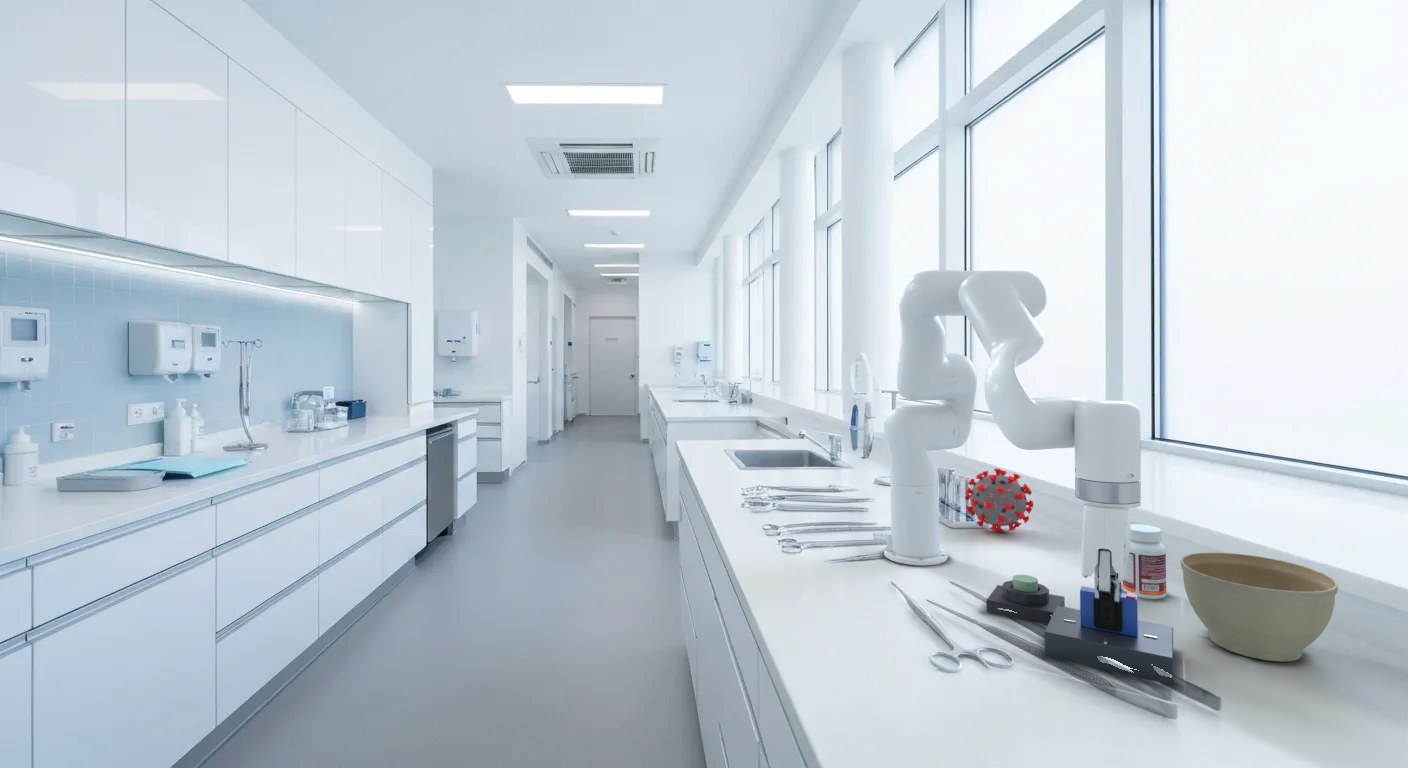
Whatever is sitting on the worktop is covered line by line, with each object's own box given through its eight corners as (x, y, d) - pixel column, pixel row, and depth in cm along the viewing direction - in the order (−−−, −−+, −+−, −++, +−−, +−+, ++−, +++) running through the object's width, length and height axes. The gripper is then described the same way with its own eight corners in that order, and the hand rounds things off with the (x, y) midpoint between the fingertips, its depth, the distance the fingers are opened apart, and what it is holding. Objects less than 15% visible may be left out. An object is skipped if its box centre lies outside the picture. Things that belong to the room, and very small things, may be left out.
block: (986, 613, 100) (986, 588, 100) (997, 597, 107) (997, 574, 107) (1057, 627, 94) (1057, 601, 94) (1064, 610, 101) (1064, 585, 101)
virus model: (974, 540, 141) (973, 474, 141) (958, 523, 156) (957, 463, 155) (1043, 541, 139) (1042, 474, 138) (1020, 524, 153) (1019, 463, 153)
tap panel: (1044, 656, 85) (1044, 630, 85) (1056, 628, 94) (1056, 604, 94) (1173, 686, 77) (1172, 656, 77) (1173, 652, 85) (1172, 625, 85)
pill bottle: (1172, 594, 106) (1172, 528, 105) (1157, 603, 102) (1156, 534, 102) (1131, 584, 111) (1131, 521, 111) (1115, 592, 107) (1114, 527, 107)
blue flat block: (1080, 626, 86) (1079, 588, 86) (1082, 621, 88) (1081, 584, 88) (1137, 637, 82) (1137, 597, 82) (1138, 631, 84) (1137, 593, 84)
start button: (1010, 590, 100) (1010, 579, 100) (1015, 583, 103) (1015, 573, 103) (1035, 594, 98) (1035, 583, 98) (1039, 587, 101) (1039, 577, 101)
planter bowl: (1216, 669, 80) (1216, 585, 80) (1161, 619, 96) (1160, 549, 96) (1372, 682, 76) (1372, 594, 76) (1288, 628, 92) (1287, 555, 91)
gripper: (1082, 479, 93) (1083, 601, 94) (1067, 499, 81) (1069, 640, 81) (1143, 484, 89) (1144, 612, 89) (1138, 506, 76) (1139, 655, 77)
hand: (1108, 624), depth 85 cm, fingers closed on blue flat block, 2 cm apart
